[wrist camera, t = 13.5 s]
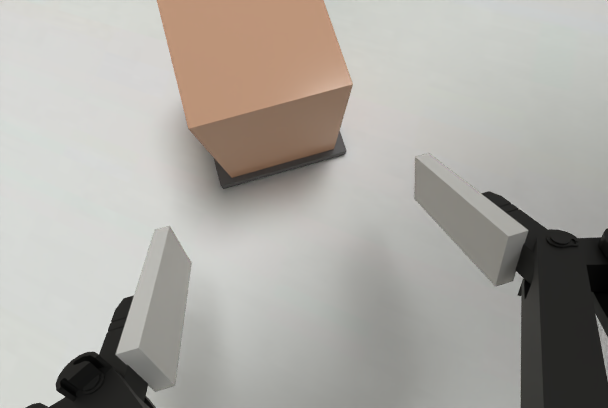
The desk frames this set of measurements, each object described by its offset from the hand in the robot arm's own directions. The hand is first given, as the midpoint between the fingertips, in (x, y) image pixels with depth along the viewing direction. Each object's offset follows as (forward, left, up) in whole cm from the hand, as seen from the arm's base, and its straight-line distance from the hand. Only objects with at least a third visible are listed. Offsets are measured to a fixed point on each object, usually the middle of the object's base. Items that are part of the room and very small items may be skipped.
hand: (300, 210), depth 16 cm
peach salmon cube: (0, -10, -9) cm, 14 cm away
